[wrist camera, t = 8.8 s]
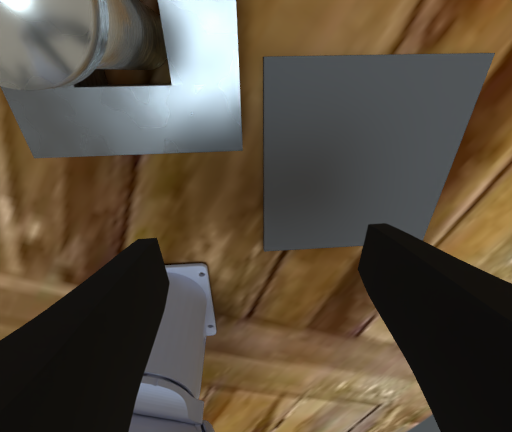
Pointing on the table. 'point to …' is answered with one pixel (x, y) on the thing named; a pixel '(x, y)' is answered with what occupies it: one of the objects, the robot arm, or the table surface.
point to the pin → (75, 40)
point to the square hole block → (148, 96)
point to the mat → (360, 142)
